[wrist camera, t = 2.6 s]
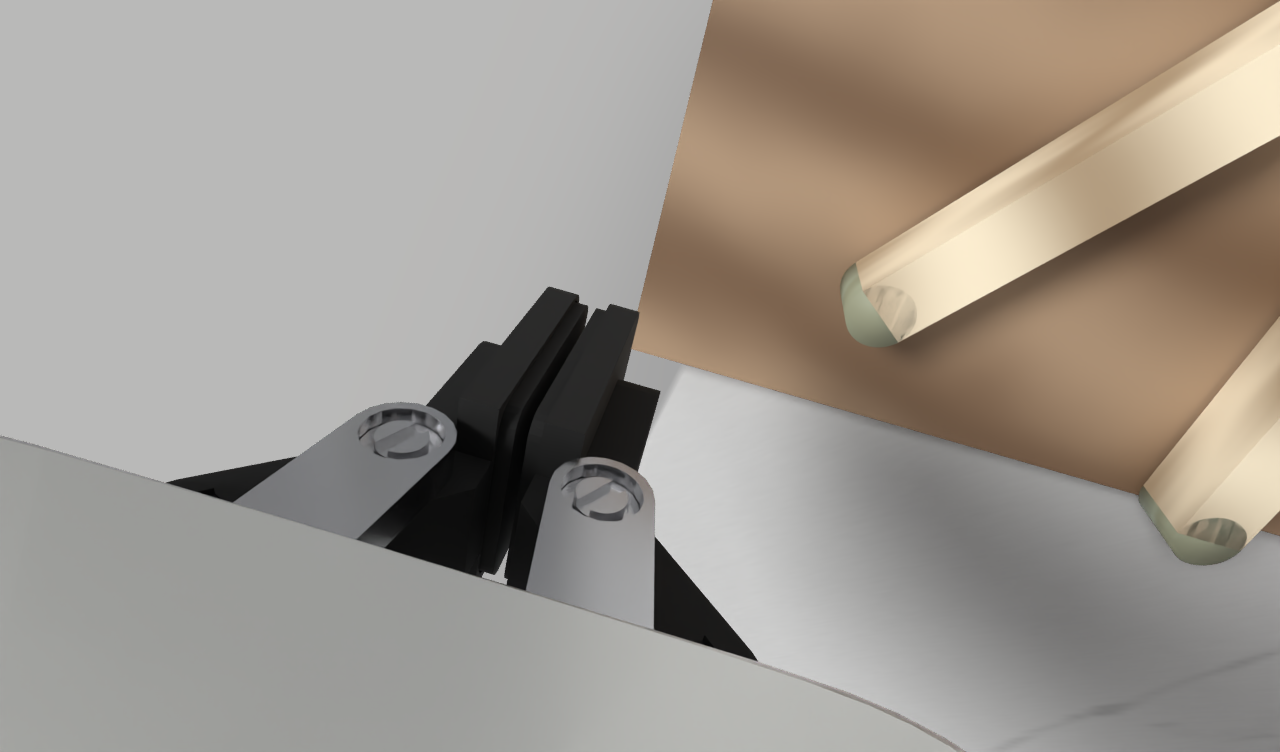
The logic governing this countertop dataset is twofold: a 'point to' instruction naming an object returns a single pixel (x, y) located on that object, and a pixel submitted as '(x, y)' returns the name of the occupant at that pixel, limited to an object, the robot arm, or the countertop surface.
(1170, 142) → the tong arm
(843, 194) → the board
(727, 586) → the countertop surface
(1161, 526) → the tongs fixed
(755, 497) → the countertop surface
